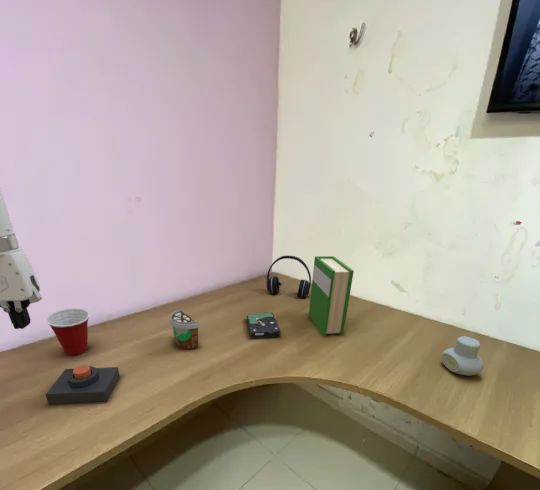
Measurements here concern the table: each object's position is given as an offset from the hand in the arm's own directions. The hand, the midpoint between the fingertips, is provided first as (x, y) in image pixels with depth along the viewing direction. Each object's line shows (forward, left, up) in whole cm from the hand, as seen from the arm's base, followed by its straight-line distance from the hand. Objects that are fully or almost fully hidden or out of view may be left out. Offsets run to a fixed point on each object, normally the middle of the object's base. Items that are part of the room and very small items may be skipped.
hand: (22, 325), depth 69 cm
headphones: (+73, +63, -19) cm, 98 cm away
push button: (+10, 0, -14) cm, 17 cm away
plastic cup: (0, +19, -19) cm, 27 cm away
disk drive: (+58, +31, -19) cm, 68 cm away
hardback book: (+82, +33, -19) cm, 90 cm away
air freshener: (+115, +2, -19) cm, 116 cm away
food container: (+31, +21, -19) cm, 42 cm away
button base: (+10, 0, -19) cm, 21 cm away
